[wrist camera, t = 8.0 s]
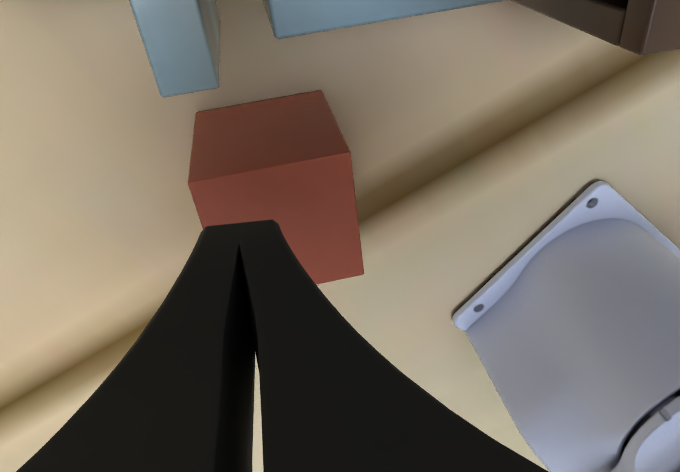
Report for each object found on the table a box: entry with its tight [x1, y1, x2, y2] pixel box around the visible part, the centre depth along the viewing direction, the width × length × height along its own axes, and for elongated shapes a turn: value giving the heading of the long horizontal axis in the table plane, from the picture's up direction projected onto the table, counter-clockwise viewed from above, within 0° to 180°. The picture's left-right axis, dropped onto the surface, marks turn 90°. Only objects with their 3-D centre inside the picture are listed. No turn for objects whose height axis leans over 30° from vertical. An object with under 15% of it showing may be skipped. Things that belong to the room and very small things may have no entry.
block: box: [188, 90, 364, 284], centre depth 17 cm, size 4×4×5 cm
